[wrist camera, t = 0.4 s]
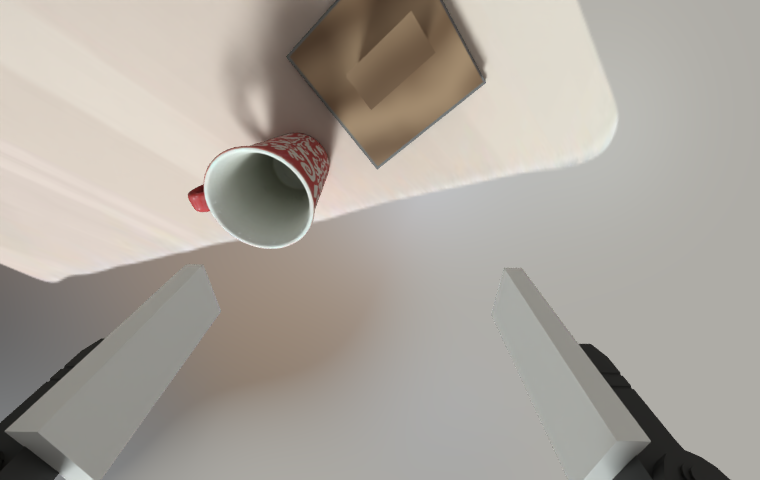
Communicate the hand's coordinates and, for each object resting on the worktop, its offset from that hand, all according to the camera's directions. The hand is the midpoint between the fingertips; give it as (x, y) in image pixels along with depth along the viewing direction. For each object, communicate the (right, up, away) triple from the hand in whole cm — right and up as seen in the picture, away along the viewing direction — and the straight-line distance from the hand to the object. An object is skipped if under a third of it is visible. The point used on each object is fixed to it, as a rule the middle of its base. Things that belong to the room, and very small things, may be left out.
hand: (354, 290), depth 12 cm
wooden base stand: (+2, +20, +16) cm, 26 cm away
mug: (-11, +12, +22) cm, 27 cm away
